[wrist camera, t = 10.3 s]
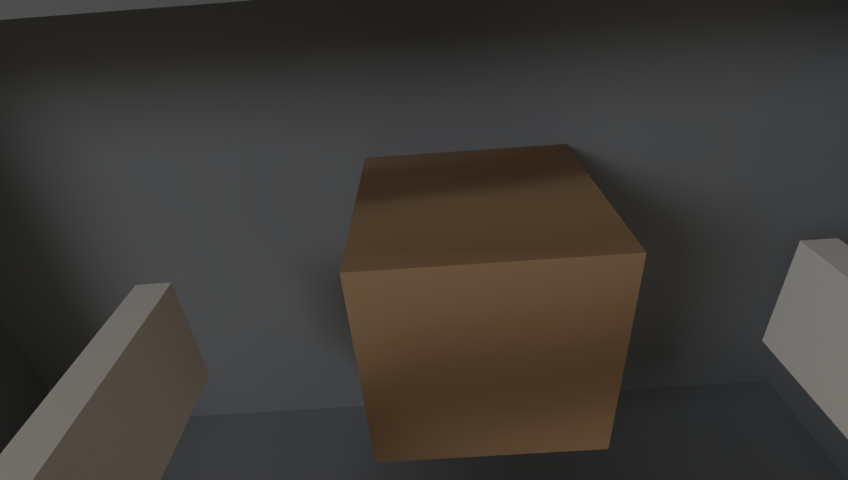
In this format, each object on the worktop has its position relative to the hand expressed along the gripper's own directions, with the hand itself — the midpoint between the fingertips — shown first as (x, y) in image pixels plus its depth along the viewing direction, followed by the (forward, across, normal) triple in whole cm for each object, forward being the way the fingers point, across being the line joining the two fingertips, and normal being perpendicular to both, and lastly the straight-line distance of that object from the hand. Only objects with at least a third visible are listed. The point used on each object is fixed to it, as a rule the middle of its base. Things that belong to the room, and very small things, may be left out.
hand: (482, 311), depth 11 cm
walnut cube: (+3, 0, 0) cm, 3 cm away
